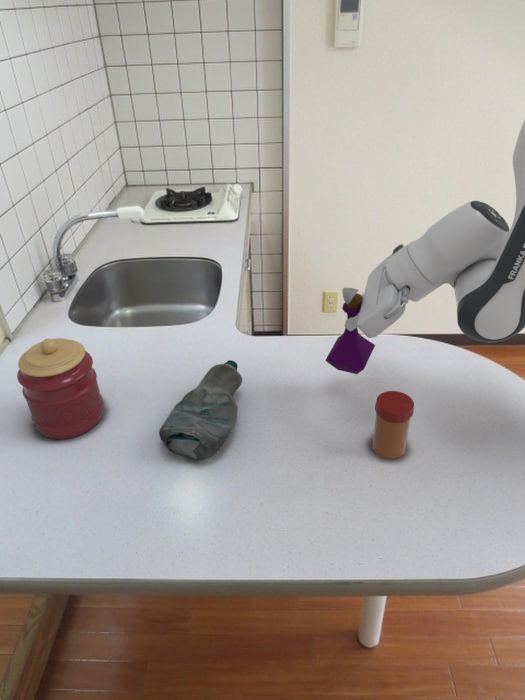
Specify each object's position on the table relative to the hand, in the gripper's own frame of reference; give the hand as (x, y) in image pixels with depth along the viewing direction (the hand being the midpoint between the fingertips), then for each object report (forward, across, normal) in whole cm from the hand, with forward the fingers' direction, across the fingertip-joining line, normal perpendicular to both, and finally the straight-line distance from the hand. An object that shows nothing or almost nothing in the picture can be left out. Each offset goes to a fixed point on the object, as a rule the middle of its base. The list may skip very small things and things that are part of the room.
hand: (349, 319), depth 97 cm
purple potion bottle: (+7, 0, -8) cm, 10 cm away
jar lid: (-2, -15, -11) cm, 19 cm away
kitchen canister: (+46, -21, +24) cm, 56 cm away
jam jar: (+5, -15, -18) cm, 24 cm away
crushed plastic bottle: (+28, -15, +5) cm, 32 cm away
